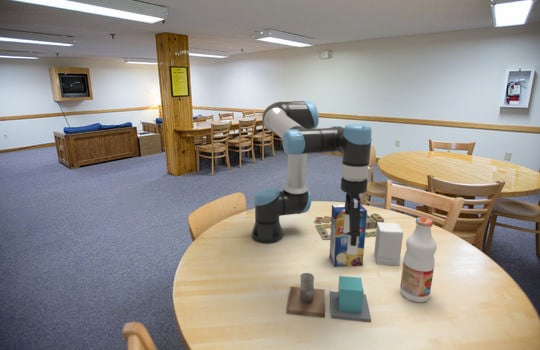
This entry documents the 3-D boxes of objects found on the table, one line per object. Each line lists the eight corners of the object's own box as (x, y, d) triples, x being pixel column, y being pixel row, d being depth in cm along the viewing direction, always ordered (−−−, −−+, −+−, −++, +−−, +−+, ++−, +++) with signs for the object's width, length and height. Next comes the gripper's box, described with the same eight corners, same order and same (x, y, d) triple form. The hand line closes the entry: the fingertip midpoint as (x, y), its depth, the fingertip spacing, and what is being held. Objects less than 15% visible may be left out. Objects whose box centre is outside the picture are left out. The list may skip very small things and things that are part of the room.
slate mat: (331, 318, 96) (331, 315, 96) (330, 293, 107) (330, 291, 107) (371, 322, 94) (371, 319, 94) (365, 296, 105) (365, 294, 105)
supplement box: (399, 266, 123) (403, 232, 119) (376, 264, 125) (379, 230, 121) (395, 255, 132) (399, 223, 128) (373, 253, 133) (376, 221, 129)
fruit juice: (398, 283, 112) (407, 213, 105) (426, 288, 110) (437, 216, 102) (401, 300, 104) (410, 224, 96) (431, 305, 101) (443, 228, 93)
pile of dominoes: (367, 214, 175) (368, 205, 174) (392, 236, 150) (393, 225, 148) (308, 218, 171) (308, 209, 169) (323, 241, 145) (323, 230, 144)
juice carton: (356, 256, 131) (360, 203, 125) (362, 265, 124) (367, 210, 117) (329, 257, 130) (331, 204, 124) (333, 267, 123) (336, 211, 117)
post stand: (286, 313, 98) (287, 286, 95) (290, 290, 109) (290, 265, 107) (324, 317, 96) (326, 290, 93) (324, 293, 108) (325, 268, 105)
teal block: (361, 312, 97) (363, 291, 94) (339, 310, 98) (340, 289, 95) (359, 298, 103) (360, 277, 101) (337, 296, 104) (339, 276, 102)
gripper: (375, 192, 77) (368, 265, 83) (361, 167, 101) (357, 226, 107) (344, 191, 78) (340, 263, 84) (338, 166, 102) (335, 224, 108)
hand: (349, 242), depth 96 cm, fingers open, 13 cm apart
